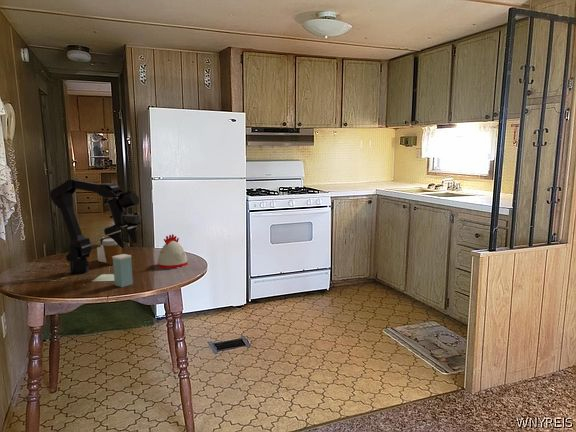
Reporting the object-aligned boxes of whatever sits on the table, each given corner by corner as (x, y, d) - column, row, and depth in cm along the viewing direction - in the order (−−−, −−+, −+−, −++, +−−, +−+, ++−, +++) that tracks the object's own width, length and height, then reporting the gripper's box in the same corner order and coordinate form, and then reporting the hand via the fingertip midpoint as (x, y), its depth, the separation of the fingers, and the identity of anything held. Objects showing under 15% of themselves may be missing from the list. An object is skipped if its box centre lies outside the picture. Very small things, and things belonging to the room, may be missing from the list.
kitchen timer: (152, 266, 202) (150, 235, 200) (175, 260, 213) (173, 230, 211) (170, 270, 194) (168, 238, 192) (193, 264, 205) (192, 233, 202)
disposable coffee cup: (123, 265, 204) (121, 240, 202) (102, 266, 201) (100, 242, 200) (125, 260, 213) (123, 237, 211) (104, 261, 210) (102, 238, 209)
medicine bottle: (119, 259, 214) (117, 236, 212) (106, 263, 208) (104, 239, 207) (110, 258, 218) (108, 235, 216) (97, 261, 212) (95, 237, 210)
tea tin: (114, 285, 173) (112, 256, 171) (125, 281, 177) (123, 253, 175) (122, 287, 170) (119, 258, 168) (133, 283, 174) (131, 255, 172)
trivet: (92, 281, 178) (92, 281, 178) (101, 274, 188) (101, 274, 188) (116, 281, 178) (116, 280, 178) (124, 274, 188) (124, 273, 188)
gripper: (119, 209, 172) (132, 245, 173) (145, 203, 190) (156, 236, 191) (97, 216, 175) (110, 252, 176) (124, 210, 193) (136, 242, 194)
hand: (129, 245), depth 184 cm, fingers open, 9 cm apart
